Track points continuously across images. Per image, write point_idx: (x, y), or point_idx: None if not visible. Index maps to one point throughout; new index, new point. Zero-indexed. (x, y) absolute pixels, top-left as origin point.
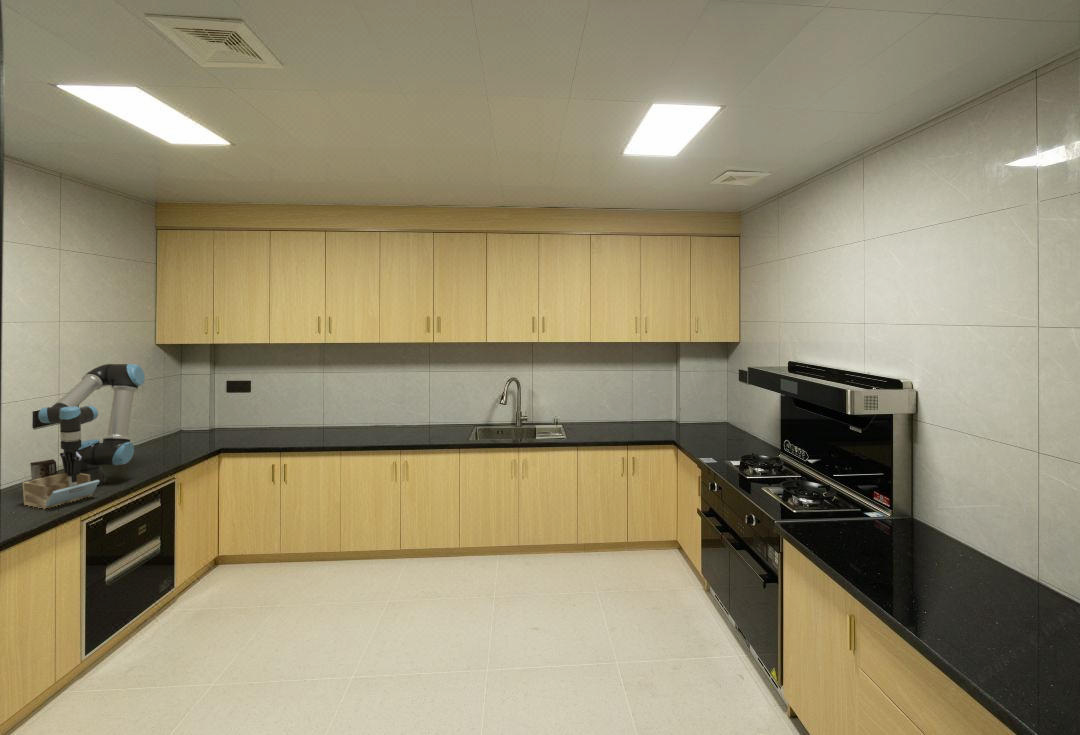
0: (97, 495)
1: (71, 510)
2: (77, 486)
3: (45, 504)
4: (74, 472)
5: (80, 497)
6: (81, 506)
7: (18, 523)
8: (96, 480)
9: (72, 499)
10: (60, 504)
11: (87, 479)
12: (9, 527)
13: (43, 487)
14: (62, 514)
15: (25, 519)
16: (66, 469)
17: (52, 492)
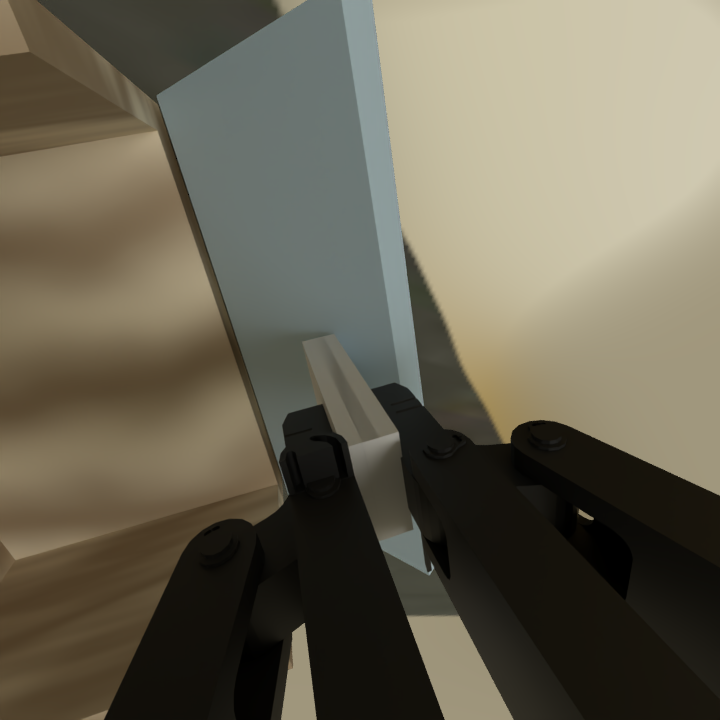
0: (160, 37)
1: (451, 373)
2: (410, 357)
3: (281, 499)
4: (607, 559)
5: (194, 229)
6: (419, 299)
7: (429, 588)
8: (356, 36)
9: (220, 305)
10: (253, 392)
11: (71, 83)
12: (453, 613)
13: (290, 652)
14: (481, 428)
15: (391, 564)
16: (274, 704)
17: (423, 566)
